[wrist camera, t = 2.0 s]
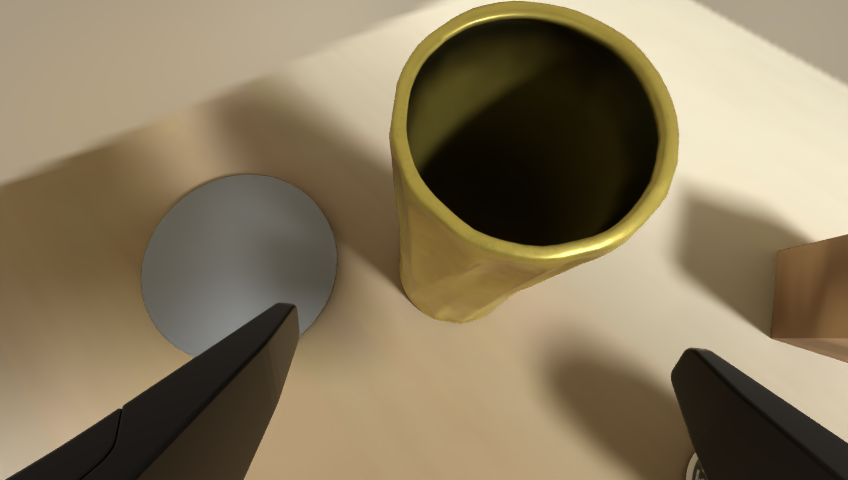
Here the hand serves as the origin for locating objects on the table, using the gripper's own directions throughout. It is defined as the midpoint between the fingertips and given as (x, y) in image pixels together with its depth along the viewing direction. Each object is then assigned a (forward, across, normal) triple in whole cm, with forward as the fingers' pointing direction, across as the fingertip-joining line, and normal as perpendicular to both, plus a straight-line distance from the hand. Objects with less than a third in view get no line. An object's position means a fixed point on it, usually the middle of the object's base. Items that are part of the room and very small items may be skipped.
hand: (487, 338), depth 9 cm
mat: (+10, +11, +6) cm, 16 cm away
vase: (+11, 0, +5) cm, 12 cm away
